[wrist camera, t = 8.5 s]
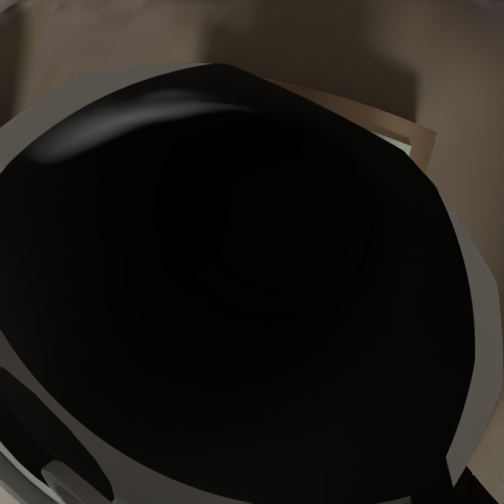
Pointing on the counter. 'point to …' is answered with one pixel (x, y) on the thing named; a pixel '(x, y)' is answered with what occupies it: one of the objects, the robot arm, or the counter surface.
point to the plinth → (374, 122)
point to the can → (231, 302)
